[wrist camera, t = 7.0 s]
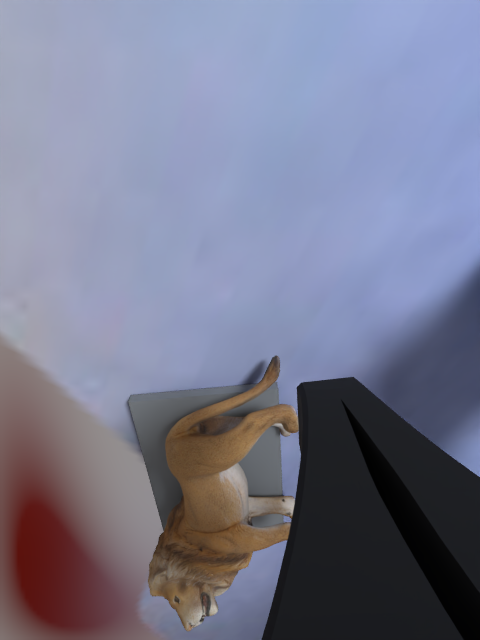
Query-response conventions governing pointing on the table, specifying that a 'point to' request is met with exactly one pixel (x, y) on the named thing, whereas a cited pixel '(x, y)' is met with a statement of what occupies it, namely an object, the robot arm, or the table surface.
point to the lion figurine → (216, 503)
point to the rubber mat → (169, 407)
